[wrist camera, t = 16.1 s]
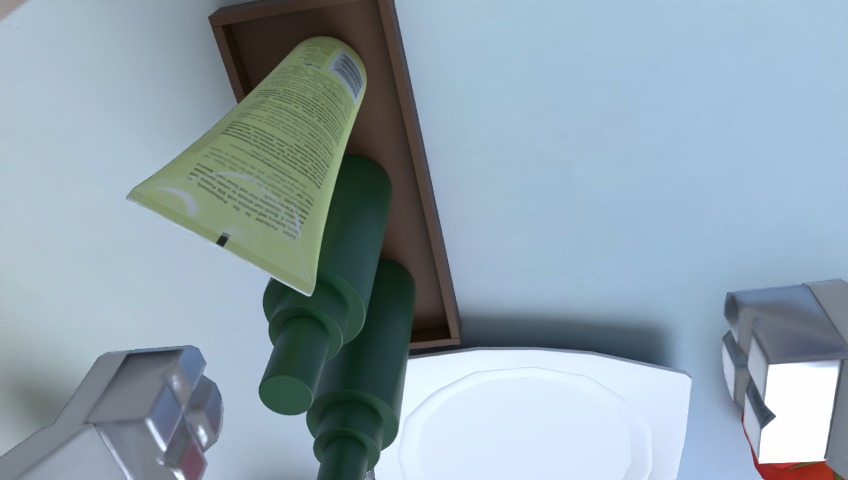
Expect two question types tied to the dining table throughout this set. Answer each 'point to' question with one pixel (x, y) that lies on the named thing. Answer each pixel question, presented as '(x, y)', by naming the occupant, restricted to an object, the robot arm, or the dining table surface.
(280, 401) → the bottle
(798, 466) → the tomato
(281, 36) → the tray
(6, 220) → the dining table surface
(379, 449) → the bottle
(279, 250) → the tube
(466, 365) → the plate
